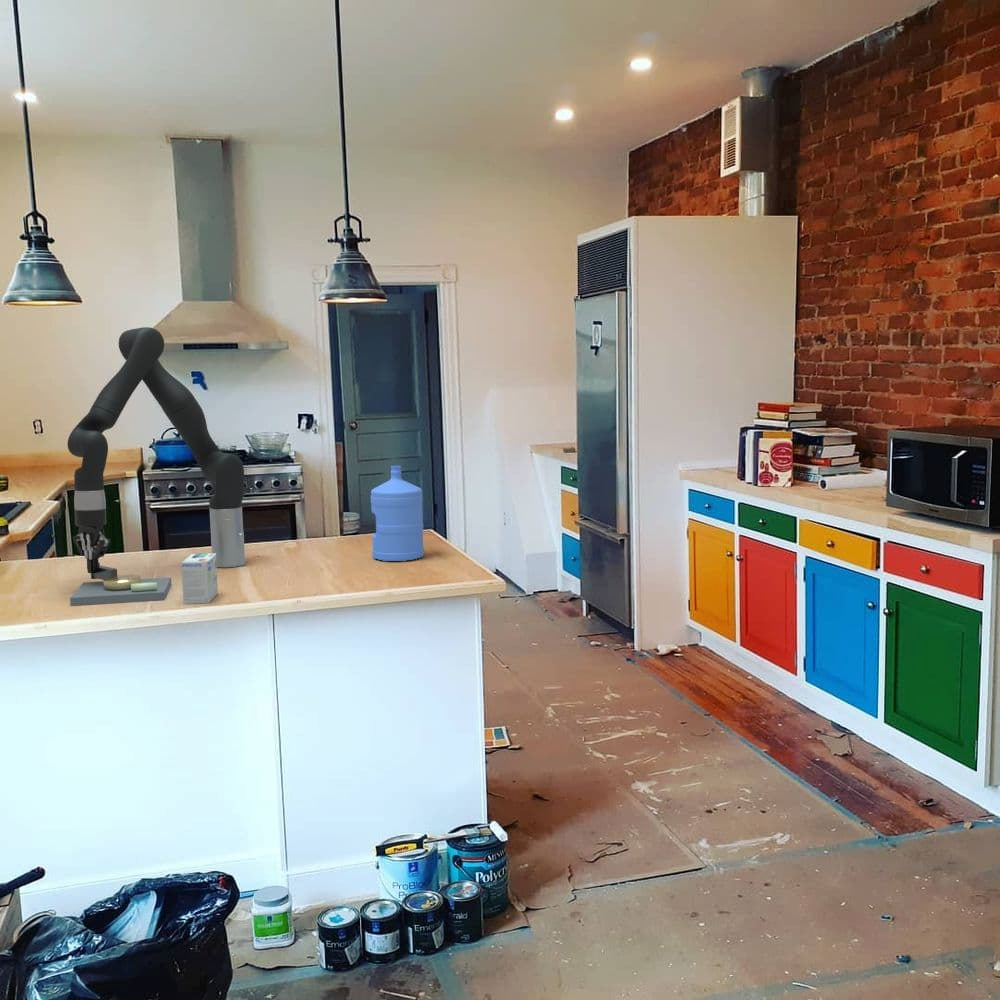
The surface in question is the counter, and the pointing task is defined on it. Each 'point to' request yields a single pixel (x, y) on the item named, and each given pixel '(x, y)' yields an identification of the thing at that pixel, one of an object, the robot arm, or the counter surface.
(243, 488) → the robot arm
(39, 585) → the counter surface
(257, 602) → the counter surface
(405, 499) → the water jug
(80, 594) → the instrument base
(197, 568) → the light bulb box
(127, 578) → the tan disc with handle
